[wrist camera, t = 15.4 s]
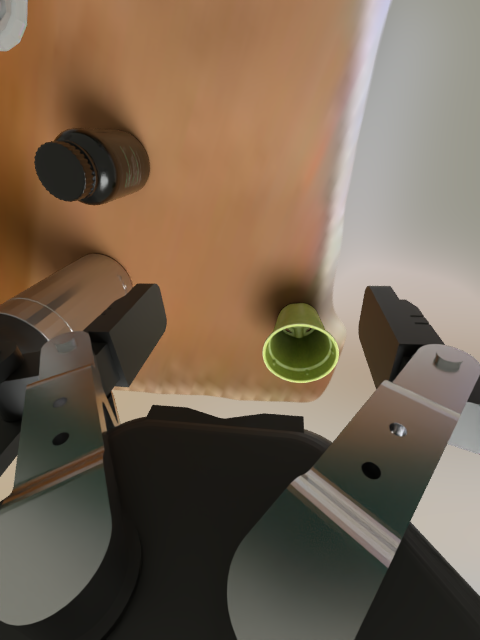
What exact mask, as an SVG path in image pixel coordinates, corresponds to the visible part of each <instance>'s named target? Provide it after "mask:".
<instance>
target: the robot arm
mask: <svg viewBox="0 0 480 640" xmlns="http://www.w3.org/2000/svg"><path fill="white" fill-rule="evenodd" d="M166 324H167V320H166V314H165V309H164V305H163V301H162V296H161V292H160V288H159V286H158V285H157V284H136V285H135V286H134V287H133V288H132V284H131V280H130V278H129V276H128V274H127V272H126V271H125V270H124V269H123V267H122V266H121V265H120V264H119V263H117V262H116V261H115V260H113V259H111V258H110V257H107V256H105V255H101V254H89V255H85V256H84V257H82V258H80V259H78V260H77V261H75V262H73V263H71V264H69V265H68V266H66V267H64V268H62V269H61V270H59V271H57V272H56V273H54V274H52V275H50V276H49V277H47V278H45V279H44V280H42V281H40V282H38V283H37V284H35V285H33V286H32V287H30V288H28V289H26V290H25V291H23V292H21V293H20V294H18V295H16V296H14V297H13V298H11V299H9V300H7V301H6V302H4V303H3V304H1V305H0V476H1V475H2V474H3V473H4V471H5V470H6V469H7V468H8V466H9V465H10V464H11V463H12V461H13V460H14V459H15V457H16V456H17V455H18V456H17V464H16V472H15V481H14V487H13V491H12V493H11V494H10V495H9V496H8V497H6V498H5V499H4V500H2V501H1V502H0V640H480V596H479V595H478V594H477V593H476V592H475V591H474V590H473V589H472V588H471V586H470V585H469V584H468V583H467V582H466V581H465V580H464V579H463V578H462V577H461V576H460V575H459V573H458V572H457V571H456V570H455V569H454V568H453V567H452V566H451V565H450V564H449V563H448V562H447V561H446V560H445V558H444V557H443V556H442V555H441V554H440V553H439V552H438V551H437V550H436V549H435V548H434V547H433V546H432V545H431V544H430V542H429V541H428V540H427V539H426V538H425V537H424V536H423V535H422V534H421V533H420V532H419V531H418V529H416V528H415V526H414V525H413V524H412V523H411V522H410V521H411V518H412V517H413V514H414V512H415V510H416V508H417V506H418V504H419V502H420V500H421V498H422V495H423V493H424V491H425V489H426V487H427V485H428V483H429V481H430V479H431V477H432V474H433V473H434V470H435V468H436V466H437V464H438V462H439V460H440V458H441V456H442V454H443V451H444V449H445V447H446V445H447V444H449V445H452V446H455V447H459V448H461V449H464V450H467V451H471V452H474V453H477V454H480V364H479V362H478V361H477V360H476V359H475V358H474V357H472V356H471V355H469V354H468V353H466V352H464V351H462V350H460V349H457V348H455V347H451V346H447V345H445V344H444V343H443V342H442V340H441V339H440V337H439V336H438V335H437V333H436V332H435V331H434V329H433V328H432V326H431V325H429V322H428V321H427V320H426V318H424V316H423V315H422V313H421V311H420V310H419V309H418V308H417V307H416V306H415V305H413V304H412V303H410V302H408V301H407V300H399V298H398V297H397V295H396V294H395V292H394V291H393V289H392V288H391V287H390V286H367V288H366V290H365V294H364V299H363V305H362V311H361V315H360V321H359V339H360V342H361V345H362V348H363V351H364V354H365V357H366V360H367V363H368V366H369V368H370V372H371V374H372V378H373V381H374V384H375V387H376V391H375V392H374V393H373V394H372V395H371V397H370V398H369V399H368V400H367V402H366V403H365V404H364V405H363V406H362V408H361V409H360V410H359V411H358V412H357V414H356V415H355V416H354V417H353V418H352V420H351V421H350V422H349V423H348V425H347V426H346V427H345V428H344V429H343V430H342V432H341V433H340V434H339V435H338V437H337V438H336V439H335V440H334V441H333V443H332V442H331V441H329V440H327V439H326V438H324V437H322V436H320V435H318V434H316V433H313V432H311V431H308V430H305V429H304V422H303V417H302V416H289V415H276V414H257V415H249V416H242V417H234V418H227V419H223V418H218V417H215V416H212V415H209V414H206V413H203V412H199V411H196V410H193V409H190V408H185V407H173V406H159V405H152V407H151V409H150V411H149V413H148V415H147V417H142V418H138V419H134V420H131V421H128V422H125V423H123V424H120V420H119V415H118V411H117V407H116V403H115V399H114V396H113V393H112V391H111V390H112V389H113V388H114V386H119V387H129V386H130V384H131V383H132V381H133V380H134V378H135V377H136V375H137V374H138V372H139V370H140V369H141V367H142V366H143V364H144V363H145V361H146V360H147V358H148V357H149V355H150V353H151V352H152V350H153V349H154V347H155V346H156V344H157V343H158V341H159V339H160V338H161V336H162V335H163V333H164V332H165V329H166Z"/></svg>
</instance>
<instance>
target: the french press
mask: <svg viewBox="0 0 480 640" xmlns="http://www.w3.org/2000/svg"><path fill="white" fill-rule="evenodd" d="M27 3H28V0H0V51H8V50H10V49H11V48H13V47H14V46H15V45H17V44H18V43H20V41H21V38H22V36H23V33H24V31H25V29H26V26H27Z"/></svg>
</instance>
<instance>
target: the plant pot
mask: <svg viewBox="0 0 480 640" xmlns="http://www.w3.org/2000/svg"><path fill="white" fill-rule="evenodd" d="M286 328H287V329H288V330H289V331H291V332H292V333H291V332H288V331H286V330H285V329H286ZM309 328H312V329H311V330H310V331H308V332H306V330H308V329H309ZM338 357H339V349H338V345H337V343H336V341H335V339H334V338H333V337H332V335H331V334H330V333H329V332H327V331H326V330H325V328H324V326H323V324H322V322H321V320H320V317H319V315H318V313H317V312H316V310H315V309H314V308H313V307H311V306H310V305H308V304H305V303H297V304H290V305H287V306H286V307H284V308H283V309H282V310H281V312H280V313H279V315H278V318H277V322H276V325H275V328H274V330H273V332H272V333H271V334H270V335H269V337H268V338H267V339H266V341H265V344H264V347H263V359H264V362H265V364H266V366H267V368H268V369H269V370H270V371H271V372H272V373H273V374H274V375H276V376H278V377H279V378H281V379H284V380H287V381H291V382H297V383H306V382H311V381H315V380H318V379H321V378H323V377H324V376H326V375H327V374H328V373H330V372H331V371H332V370H333V368H334V367H335V365H336V364H337V361H338Z"/></svg>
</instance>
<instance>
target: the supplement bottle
mask: <svg viewBox="0 0 480 640" xmlns="http://www.w3.org/2000/svg"><path fill="white" fill-rule="evenodd" d="M34 163H35V169H36V172H37V175H38V177H39V180H40V181H41V183H42V185H43V186H44V187H45V188H46V190H48V191H49V192H50V194H52V195H54V196H55V197H56V198H59V199H60V200H64V201H70V202H71V201H77V200H78V201H80V202H82V203H84V204H88V205H101V204H104V203H107V202H110V201H113V200H116V199H118V198H121V197H124V196H127V195H129V194H132V193H134V192H137V191H139V190H140V189H141V188H143V186H144V185H145V184H146V182H147V180H148V177H149V172H150V165H149V159H148V156H147V153H146V151H145V149H144V147H143V146H142V144H141V143H140V142H139V141H138V140H137V139H136V138H135V137H134V136H132V135H131V134H129V133H127V132H125V131H122V130H115V129H89V128H73V129H67V130H65V131H63V132H61V133H60V134H59V135H58V136H57V137H56V138H55V140H54V141H51V142H46V143H45V144H42V145H41V147H39V148H38V151H37V152H36V156H35V162H34Z"/></svg>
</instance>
